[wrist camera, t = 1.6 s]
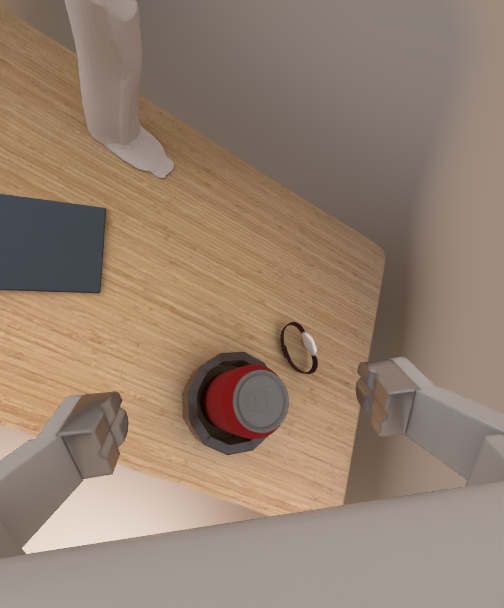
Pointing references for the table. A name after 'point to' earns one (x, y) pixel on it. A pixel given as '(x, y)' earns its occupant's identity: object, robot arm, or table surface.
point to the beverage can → (246, 401)
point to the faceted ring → (191, 405)
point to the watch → (307, 343)
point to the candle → (114, 80)
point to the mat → (50, 245)
